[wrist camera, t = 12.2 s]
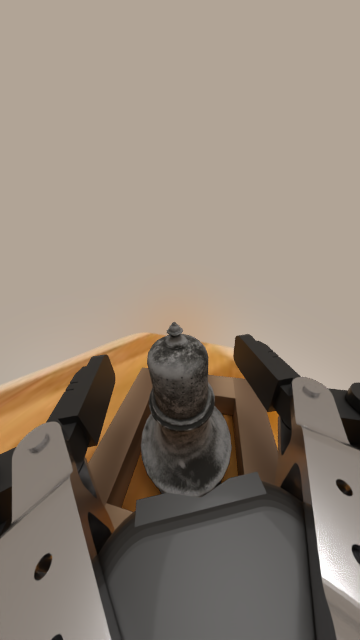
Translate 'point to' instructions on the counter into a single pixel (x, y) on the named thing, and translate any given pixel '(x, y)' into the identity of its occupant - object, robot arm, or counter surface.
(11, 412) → the counter surface
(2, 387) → the counter surface
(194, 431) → the chess piece
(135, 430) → the socket block
